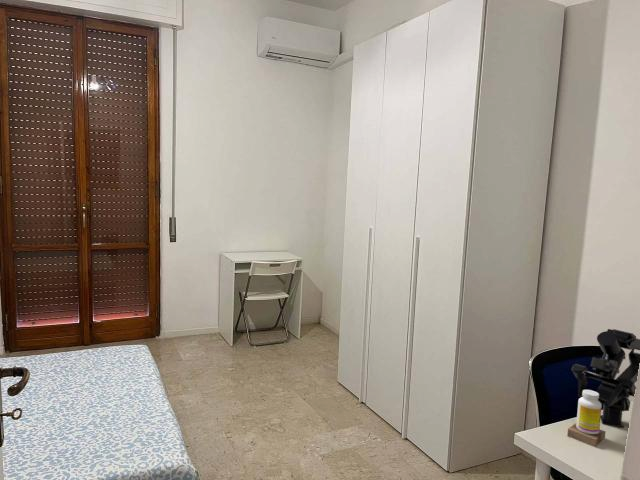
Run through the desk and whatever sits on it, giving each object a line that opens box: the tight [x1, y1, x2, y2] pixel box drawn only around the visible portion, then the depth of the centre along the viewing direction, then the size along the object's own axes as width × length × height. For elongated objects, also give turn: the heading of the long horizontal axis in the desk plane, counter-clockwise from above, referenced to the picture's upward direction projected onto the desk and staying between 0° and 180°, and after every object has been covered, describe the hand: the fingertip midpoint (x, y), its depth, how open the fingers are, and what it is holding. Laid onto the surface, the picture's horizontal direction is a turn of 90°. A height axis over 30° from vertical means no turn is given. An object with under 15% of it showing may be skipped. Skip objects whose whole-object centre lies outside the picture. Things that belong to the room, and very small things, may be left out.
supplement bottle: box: [575, 389, 603, 434], centre depth 152 cm, size 7×7×13 cm
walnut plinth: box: [566, 422, 607, 448], centre depth 152 cm, size 8×8×2 cm
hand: (593, 400), depth 153 cm, fingers open, 9 cm apart
